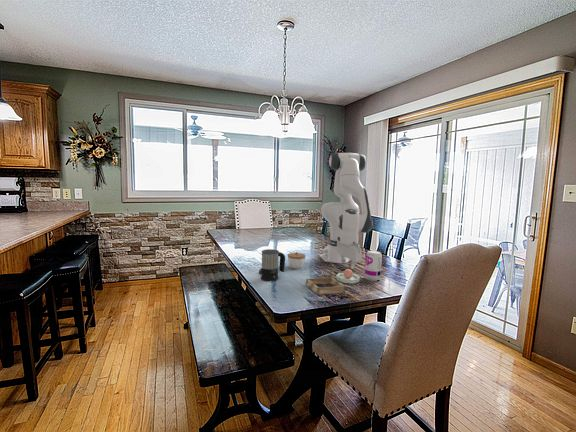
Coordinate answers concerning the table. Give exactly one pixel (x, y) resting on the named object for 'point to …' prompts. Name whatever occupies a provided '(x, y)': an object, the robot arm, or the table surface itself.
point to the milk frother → (271, 264)
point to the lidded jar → (296, 260)
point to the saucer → (351, 280)
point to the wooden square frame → (325, 290)
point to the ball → (348, 273)
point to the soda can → (373, 265)
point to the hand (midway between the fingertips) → (347, 265)
